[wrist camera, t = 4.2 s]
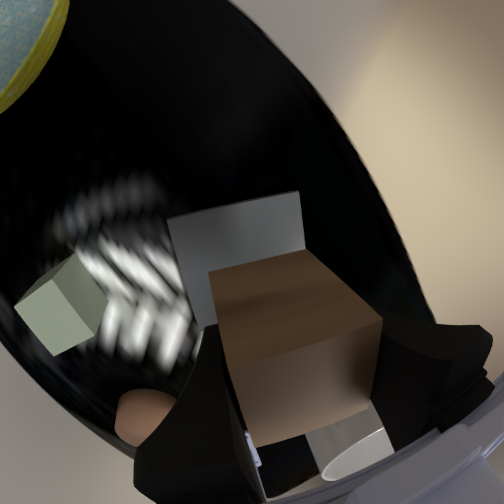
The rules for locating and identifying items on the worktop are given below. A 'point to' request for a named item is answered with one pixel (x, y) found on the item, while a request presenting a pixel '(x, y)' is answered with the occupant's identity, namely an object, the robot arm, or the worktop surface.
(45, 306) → the sage cube
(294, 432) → the walnut block
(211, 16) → the worktop surface
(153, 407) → the brown rounded disc
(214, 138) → the worktop surface
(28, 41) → the bowl
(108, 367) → the worktop surface
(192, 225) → the plate
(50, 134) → the worktop surface
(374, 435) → the white cup
